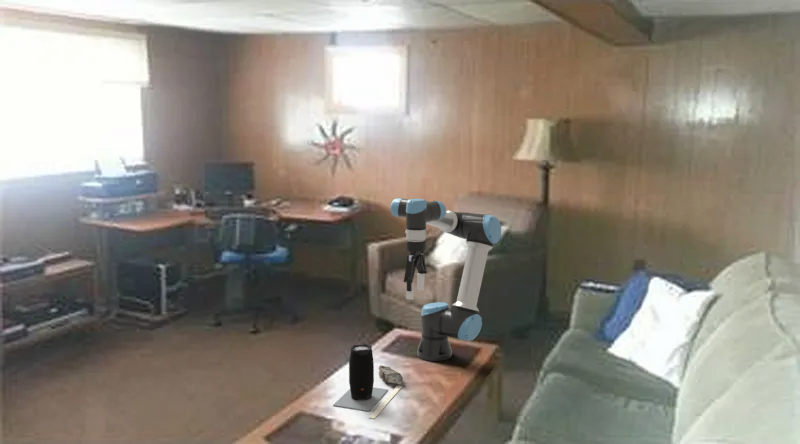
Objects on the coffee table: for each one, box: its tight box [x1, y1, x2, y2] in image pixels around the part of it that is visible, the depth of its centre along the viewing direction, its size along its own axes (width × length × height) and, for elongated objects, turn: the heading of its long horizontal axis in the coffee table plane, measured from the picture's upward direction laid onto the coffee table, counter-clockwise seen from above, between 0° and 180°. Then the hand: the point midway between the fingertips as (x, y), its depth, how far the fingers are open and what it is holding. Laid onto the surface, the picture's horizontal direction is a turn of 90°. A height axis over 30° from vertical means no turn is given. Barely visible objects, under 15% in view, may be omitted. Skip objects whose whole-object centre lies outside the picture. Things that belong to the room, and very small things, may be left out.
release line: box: [368, 385, 403, 420], centre depth 259 cm, size 30×2×1 cm, turn 161°
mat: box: [332, 386, 389, 412], centre depth 262 cm, size 20×14×1 cm
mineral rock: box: [378, 365, 404, 385], centre depth 278 cm, size 15×8×4 cm, turn 15°
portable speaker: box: [348, 343, 375, 400], centre depth 261 cm, size 9×9×20 cm
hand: (415, 294), depth 268 cm, fingers open, 13 cm apart
